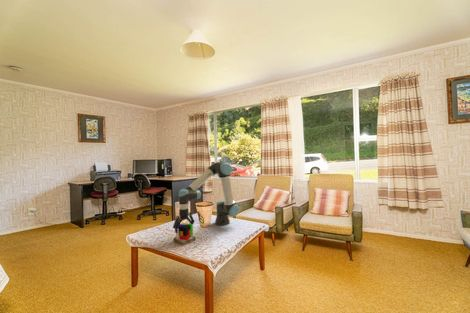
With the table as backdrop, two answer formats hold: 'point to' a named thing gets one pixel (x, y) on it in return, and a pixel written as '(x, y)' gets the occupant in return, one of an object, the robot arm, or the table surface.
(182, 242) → the plinth
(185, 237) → the puzzle toy
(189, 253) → the table surface
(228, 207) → the robot arm
